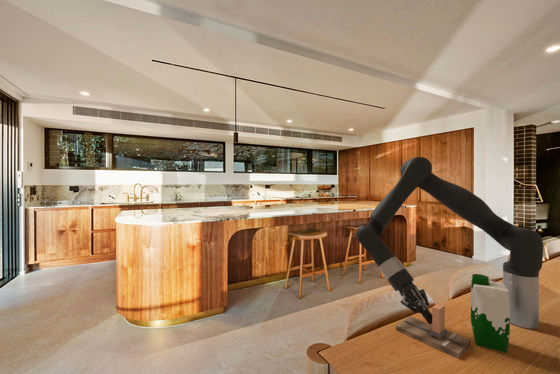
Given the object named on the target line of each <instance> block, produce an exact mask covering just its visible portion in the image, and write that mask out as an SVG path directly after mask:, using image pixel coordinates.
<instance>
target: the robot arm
mask: <svg viewBox="0 0 560 374" xmlns="http://www.w3.org/2000/svg"><path fill="white" fill-rule="evenodd" d="M432 171H433V165H432V163H431V161H430V160H429V159H428V158H426V157H423V156H417V157H412V158H410V159H409V160H406V161H405V162H404V163H402V165H401V167H400V175H401V177H400V178H399V180H398V181H397V183H396V184H395V185H394V186H393V187H392V188H391V190H390V191H389V192H388V193H387V194H386V195H385V196H384V197H383V198H382V199H381V200H380V202H379V203H378V204H377V206H376V207H375V208H374V210H373V211H372V212H371V213H370V216H369V218H370V219H369V221H368V222H367V224H362V225H360V226H358V227H357V229H356V231H355V238H356V240H357V242H359V243H360V245H361V247H363V249H364V250H365V251H366V252H367V253H368V254H369V255H370V257H371V258H372V260H373V261H374V263H375V264H376V266H377V267H378V269H379V271H380V272H381V273H382V275H383V276H384V277H385V279H386V281H387V282H388V283H389V285H390V286H391V287H392V288H393V290H394V291H396V292H399V294H400V296H401V297H402V299H401V300H400V303H401V304H402V305H403V306H404V307H405V308H407V309H409V310H410V311H412V312H413V313H414V314H417V313H419V314H421V316H422V317H423V318H424V320H425V321H426V323H428V324H431V325H432V312H431V311H430V310H429V306H430V302H429V299H428V296H427V294H426V291H425V289H423V288H421V289H419V288H418V286H416V284H414V277H413V275H411V273H410V272H409V270H408V269H407V268H406V267H405V266H404V265H403V263H402V262H401V261H400V260H399V259H398V258H397V257H396V256H395V255H394V253H393V252H392V251H391V250H390V248H389V247H388V246H387V245H386V244H385V243H384V242H383V241H382V239H381V236H382V235H383V233H384V231H385V228H386V226H387V225H388V224H389V223H390V222H391V220H392V219H393V217H394V216H395V215H396V214H397V213H398V211H399V210H400V208H401V207H402V206H403V204H404V203H405V201H406V200H408V198H409V197H410V196H411V194H412V193H413V192H414V191H416V189H417V188H418V189H421V190H423V191H424V192H426V193H427V194H429V195H430V196H431V197H432V198H434V199H435V200H436V201H438V202H439V203H440V204H442V205H443V206H444V207H446V208H447V209H449V210H450V211H451V212H453V213H454V214H456V215H457V216H459V217H461V219H464V220H465V221H466V222H468V223H470V224H471V225H473V226H475V227H477V228H478V229H480V230H482V231H483V232H485V233H486V234H487V235H488V236H489V237H490V238H492V239H493V240H494V241H496V242H497V243H498V244H499V245H500V246H502V248H504V249H505V250H508V251H509V259H508V261H505V262H503V264H502V283H503V284H504V285H505V287H506V288H507V290H508V291H509V302H510V324H512V325H513V326H517V327H520V328H525V329H533V330H535V329H539V328H540V271H541V270H542V267H543V262H544V260H543V259H544V242H543V238H542V237H541V235H540V234H539V233H538V232H537V231H535V230H532V229H530V228H525V227H520V226H516V225H514V224H512V223H510V222H508V221H507V220H505V219H503V218H502V217H500V216H499V215H497V214H496V213H495V212H494V211H493V210H492V208H490V206H489V205H488V203H486V202H485V201H484V200H483V199H482V198H481V197H479V196H478V195H476V194H475V193H473V192H471V191H470V190H468V189H466V187H465V188H464V187H462V186H460V185H458V184H456V183H453V182H450V181H447V180H444V179H443V178H441V177H439V176H437V175H436V174H435V173H433V172H432Z"/></svg>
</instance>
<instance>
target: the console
mask: <svg viewBox="0 0 560 374" xmlns="http://www.w3.org/2000/svg"><path fill="white" fill-rule="evenodd" d="M431 329H432V324H429V323H428V322H427V321H426V322H425V321H423V320H420V319H418V318H416V317H413V316H408V317H407V318H405V319H404V320H402V321H400V322H398V323H397V324H396V325H395V331H397V332H398V333H401V334H404V335H406V336H409V337H410V338H412V339H414V340H416V341H419V342H421V343H424V344H425V345H427V346H430V347H432V348H434V349H436V350H438V351H441V352H443V353H445V354H448V355H450V356H451V357H454V358H456V359H460V358H461V357H463V355H464V354H465V353H466V351H467V350H468V349H469V348H471V346H472V340H471V339H468V338H466V337H463V336H461V335H459V334H456V333H454V332H451V331H448V330H447V334H446V335H445V336H444V337H442V338H441V339H439V338H437V337H435V336H432V335H430V330H431Z"/></svg>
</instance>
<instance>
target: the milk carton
mask: <svg viewBox="0 0 560 374" xmlns="http://www.w3.org/2000/svg"><path fill="white" fill-rule="evenodd" d="M470 286H471V288H470V324H471V329H472V333H473V338H474V343H475V346H478V347H481V348H486V349H489V350H492V351H496V352H501V353H505V354H508V349H509V344H510V343H509V342H510V341H509V340H510V334H511V332H510V331H511V327H510V326H511V325H510V324H511V323H510V302H509V291H508V290H507V288H506V287H505V285H504V284H503V282H497V281H494V280H493V281H492V280H490V278H489V276H488V275H484V274H479V273H472V277H471V285H470Z"/></svg>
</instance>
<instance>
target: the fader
mask: <svg viewBox="0 0 560 374" xmlns="http://www.w3.org/2000/svg"><path fill="white" fill-rule="evenodd" d="M431 311H432V312H431V314H432V324H431V325H432V329H431V330H430V335H432V336H435V337H437V338H439V339H441V338H442V337H444V336H445V335H446V334H447V331H448V328H446V306H445V305H443V304H441V303H437V304H434V305H433V306H432V307H431Z"/></svg>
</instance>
